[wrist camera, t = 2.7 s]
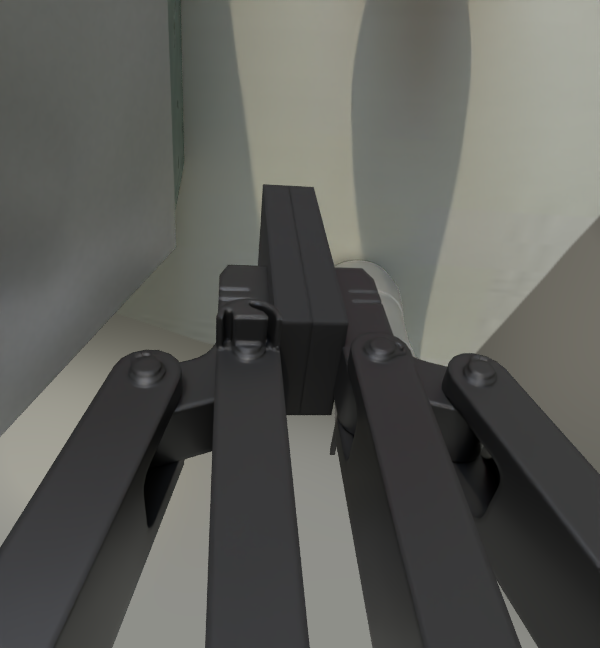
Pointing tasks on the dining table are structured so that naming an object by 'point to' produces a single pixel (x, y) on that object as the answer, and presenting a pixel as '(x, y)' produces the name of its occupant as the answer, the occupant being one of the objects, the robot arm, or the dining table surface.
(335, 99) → the dining table surface
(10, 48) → the lid
